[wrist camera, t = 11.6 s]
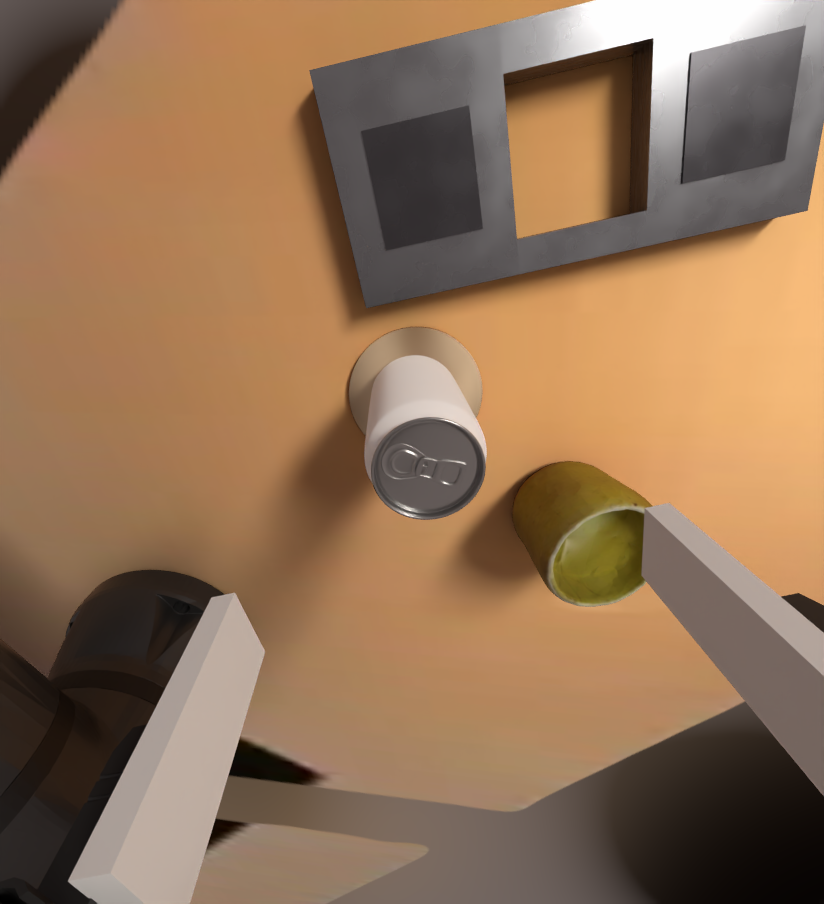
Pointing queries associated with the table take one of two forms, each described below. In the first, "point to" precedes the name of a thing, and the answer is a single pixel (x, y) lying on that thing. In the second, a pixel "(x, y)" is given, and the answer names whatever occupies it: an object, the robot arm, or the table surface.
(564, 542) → the mug
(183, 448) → the table surface
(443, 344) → the coaster
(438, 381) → the can
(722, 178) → the panel
